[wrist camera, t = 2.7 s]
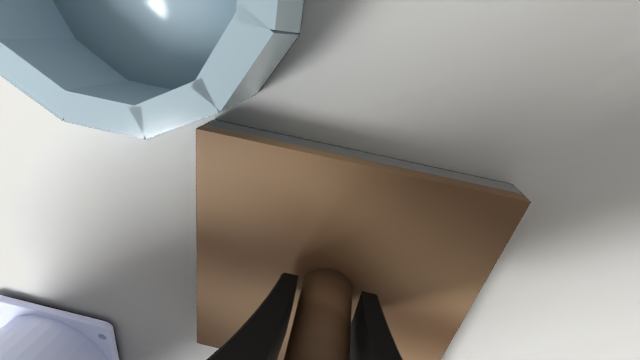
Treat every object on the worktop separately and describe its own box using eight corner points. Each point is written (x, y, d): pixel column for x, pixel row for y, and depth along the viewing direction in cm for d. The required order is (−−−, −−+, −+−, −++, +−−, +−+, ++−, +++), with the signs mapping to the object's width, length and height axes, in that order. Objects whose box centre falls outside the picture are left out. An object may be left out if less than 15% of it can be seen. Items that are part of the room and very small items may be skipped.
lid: (416, 386, 16) (435, 506, 12) (202, 333, 16) (148, 430, 12) (522, 194, 11) (622, 289, 7) (203, 124, 11) (111, 173, 7)
